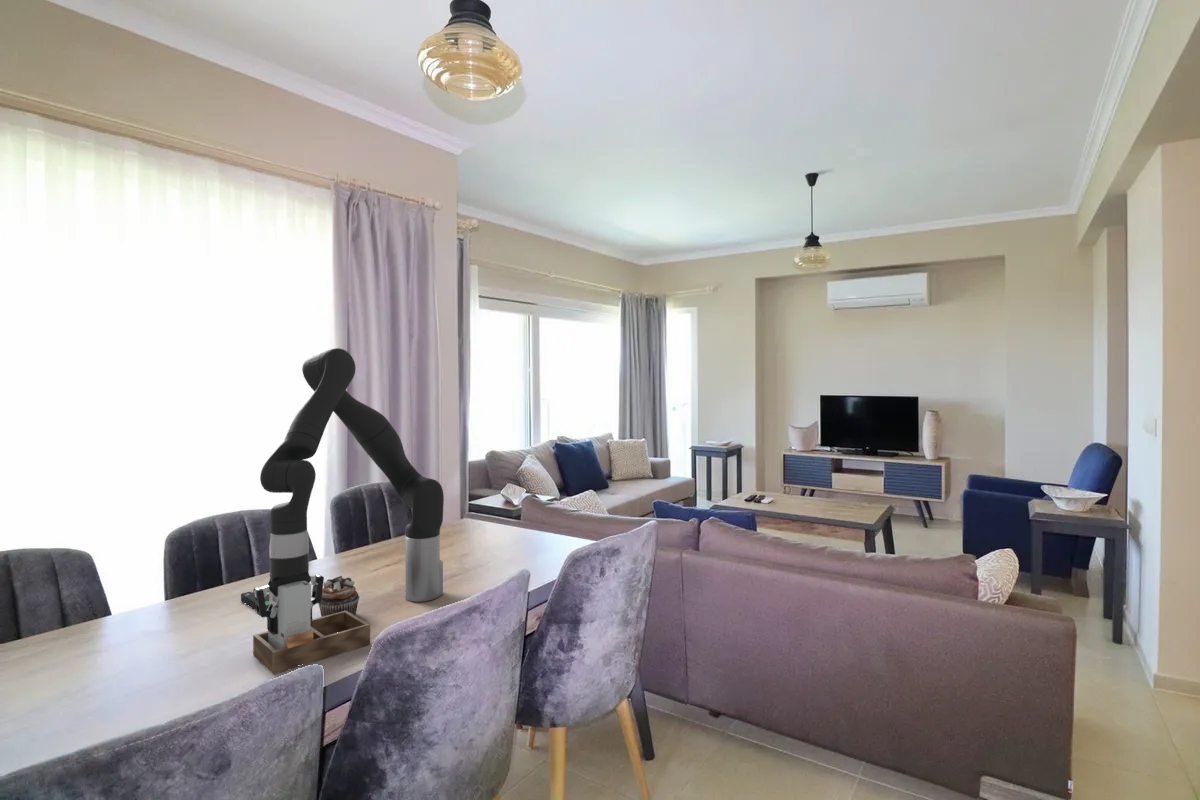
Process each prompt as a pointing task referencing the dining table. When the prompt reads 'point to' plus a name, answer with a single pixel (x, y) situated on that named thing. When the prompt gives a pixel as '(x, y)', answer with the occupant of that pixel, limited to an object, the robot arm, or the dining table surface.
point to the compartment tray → (314, 642)
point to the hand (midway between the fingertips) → (290, 628)
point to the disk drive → (250, 600)
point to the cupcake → (338, 596)
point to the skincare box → (291, 612)
